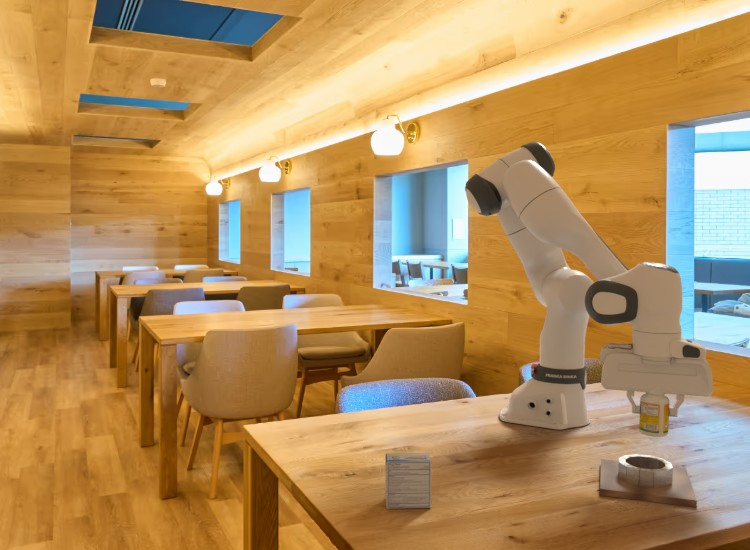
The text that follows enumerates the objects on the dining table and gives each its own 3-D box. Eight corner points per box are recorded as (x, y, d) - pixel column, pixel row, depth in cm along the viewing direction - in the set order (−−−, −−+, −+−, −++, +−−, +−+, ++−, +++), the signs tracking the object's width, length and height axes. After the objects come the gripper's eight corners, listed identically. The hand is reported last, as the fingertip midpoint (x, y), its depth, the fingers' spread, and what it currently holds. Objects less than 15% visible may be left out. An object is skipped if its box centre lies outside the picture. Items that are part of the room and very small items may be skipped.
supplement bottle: (647, 437, 128) (649, 388, 127) (634, 429, 133) (635, 382, 133) (674, 437, 128) (675, 388, 128) (659, 428, 134) (660, 382, 133)
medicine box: (428, 499, 119) (429, 451, 119) (431, 509, 115) (432, 460, 114) (385, 499, 119) (385, 452, 118) (386, 509, 114) (386, 460, 114)
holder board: (600, 495, 121) (600, 472, 121) (600, 464, 137) (601, 444, 137) (696, 507, 116) (697, 483, 115) (685, 474, 132) (686, 453, 131)
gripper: (600, 344, 130) (598, 413, 131) (715, 350, 123) (713, 423, 124) (600, 339, 136) (598, 406, 137) (710, 345, 129) (708, 415, 130)
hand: (654, 414), depth 131 cm, fingers closed on supplement bottle, 5 cm apart
